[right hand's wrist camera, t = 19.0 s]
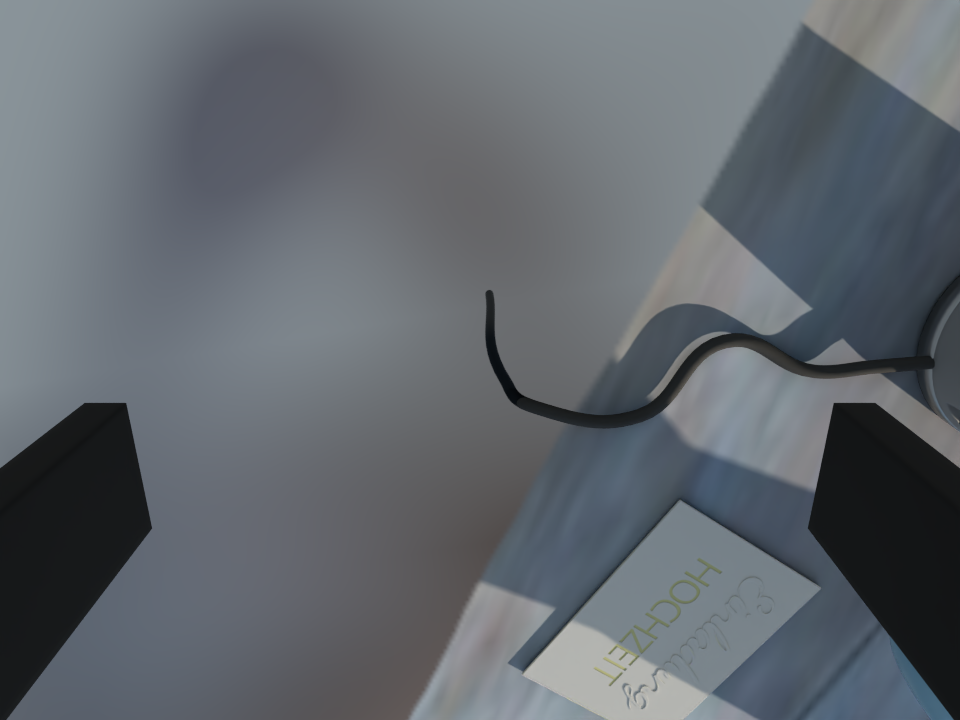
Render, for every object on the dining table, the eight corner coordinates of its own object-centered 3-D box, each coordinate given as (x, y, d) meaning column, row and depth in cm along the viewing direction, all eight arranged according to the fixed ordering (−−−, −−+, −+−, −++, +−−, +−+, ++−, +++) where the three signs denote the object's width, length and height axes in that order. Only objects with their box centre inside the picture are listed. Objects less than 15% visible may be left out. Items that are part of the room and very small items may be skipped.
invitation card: (680, 501, 52) (821, 588, 55) (679, 499, 53) (820, 586, 56) (522, 675, 59) (656, 745, 62) (521, 673, 59) (655, 743, 62)
